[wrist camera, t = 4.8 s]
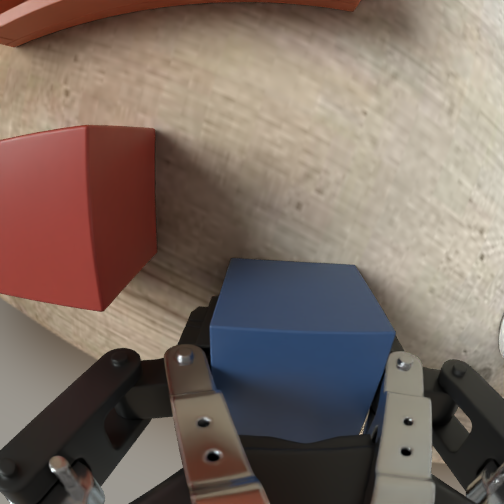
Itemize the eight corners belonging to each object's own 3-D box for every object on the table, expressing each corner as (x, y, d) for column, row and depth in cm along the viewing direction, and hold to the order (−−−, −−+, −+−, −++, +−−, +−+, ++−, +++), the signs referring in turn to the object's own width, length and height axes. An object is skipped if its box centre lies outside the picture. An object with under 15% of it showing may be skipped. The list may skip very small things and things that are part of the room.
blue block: (229, 358, 14) (214, 441, 10) (230, 257, 13) (209, 325, 8) (335, 362, 14) (355, 444, 9) (355, 264, 13) (397, 332, 8)
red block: (61, 246, 13) (-9, 292, 8) (53, 138, 11) (-30, 147, 7) (158, 252, 13) (103, 313, 8) (156, 128, 11) (88, 124, 6)
